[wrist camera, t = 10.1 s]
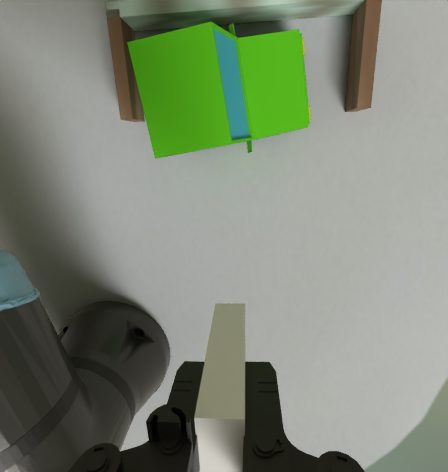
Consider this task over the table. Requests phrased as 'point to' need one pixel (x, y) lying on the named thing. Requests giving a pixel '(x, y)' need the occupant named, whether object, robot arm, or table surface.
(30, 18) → the table surface
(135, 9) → the bay
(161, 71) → the toy car
